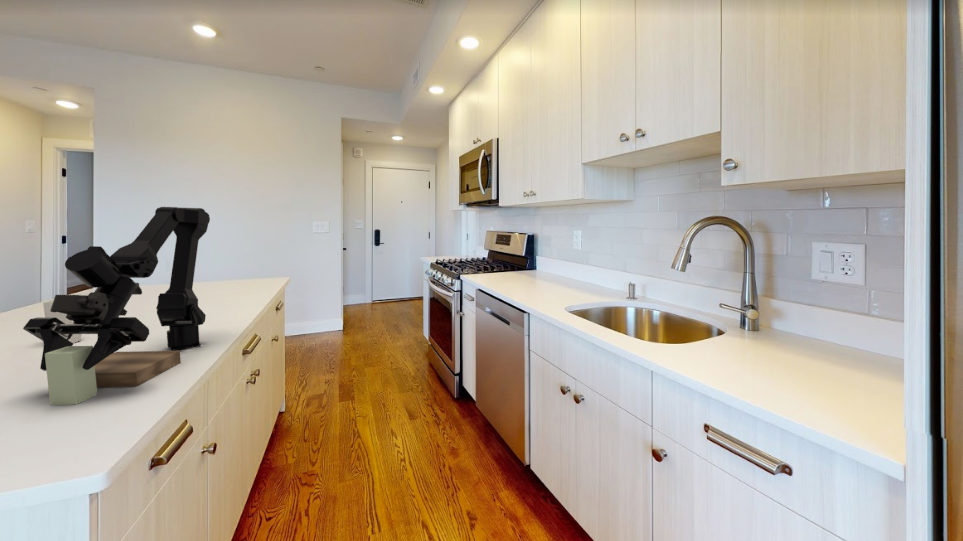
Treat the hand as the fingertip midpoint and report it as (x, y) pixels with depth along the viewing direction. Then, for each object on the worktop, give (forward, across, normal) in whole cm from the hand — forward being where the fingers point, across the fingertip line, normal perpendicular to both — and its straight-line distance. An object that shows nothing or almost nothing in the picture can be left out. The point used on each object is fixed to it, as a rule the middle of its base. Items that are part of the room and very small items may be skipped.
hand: (64, 369), depth 71 cm
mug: (-24, -35, +34) cm, 54 cm away
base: (-5, 0, +15) cm, 16 cm away
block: (+4, 0, +6) cm, 7 cm away
